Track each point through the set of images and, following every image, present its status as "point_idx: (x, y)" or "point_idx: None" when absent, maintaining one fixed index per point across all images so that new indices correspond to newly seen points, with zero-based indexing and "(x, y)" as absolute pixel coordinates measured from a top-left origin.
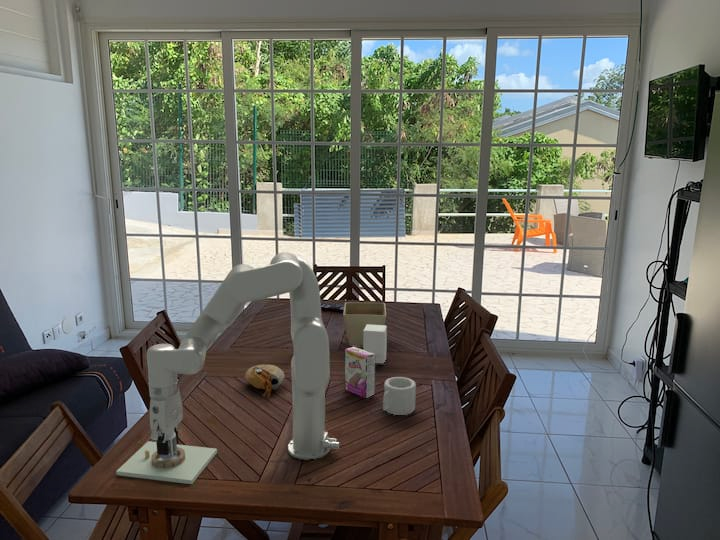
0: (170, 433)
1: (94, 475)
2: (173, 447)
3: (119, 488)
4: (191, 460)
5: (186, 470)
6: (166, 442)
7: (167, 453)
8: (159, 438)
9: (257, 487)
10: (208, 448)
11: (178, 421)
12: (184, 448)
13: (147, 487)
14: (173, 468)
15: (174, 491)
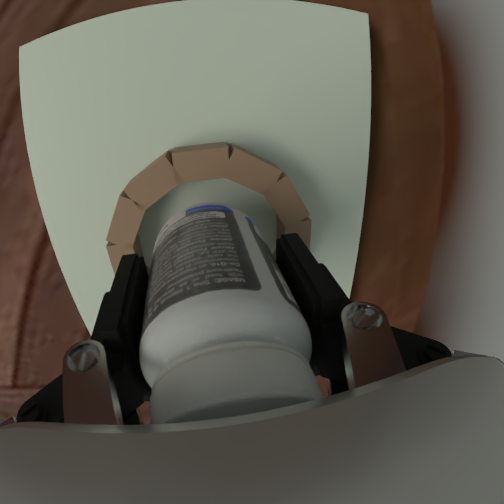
0: (280, 360)
1: None
2: (237, 237)
3: (398, 290)
4: (175, 97)
5: (291, 70)
6: (340, 299)
7: (299, 238)
8: (448, 355)
9: None
10: (26, 94)
11: (118, 470)
12: (76, 227)
13: (398, 205)
14: (289, 157)
15: (412, 79)
